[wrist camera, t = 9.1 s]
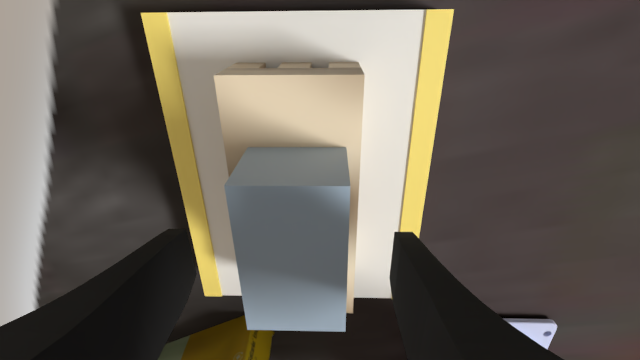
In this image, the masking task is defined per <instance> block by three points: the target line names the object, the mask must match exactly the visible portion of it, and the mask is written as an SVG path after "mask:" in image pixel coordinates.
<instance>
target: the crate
mask: <svg viewBox="0 0 640 360" xmlns="http://www.w3.org/2000/svg"><path fill="white" fill-rule="evenodd" d="M224 188H225V194H226V200H227V206H228V212H229V219H230V225H231V231H232V237H233V244H234V250H235V256H236V262H237V268H238V275H239V281H240V287H241V293H242V299H243V306H244V312H245V318H246V324H247V330H283V331H334V332H346V302H347V273H348V243H349V213H350V177H349V168H348V158H347V149H346V147H248V148H247V149H246V151H245V153H244V154H243V156H242V157H241V159H240V161H239V162H238V164H237V166H236V167H235V169H234V170H233V172H232V174H231V175H230V177H229V179H228V180H227V182H226V183H225V185H224Z"/></svg>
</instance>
